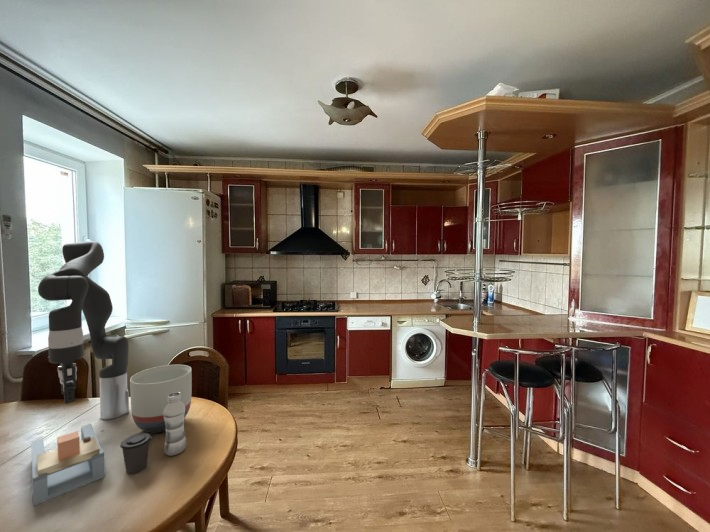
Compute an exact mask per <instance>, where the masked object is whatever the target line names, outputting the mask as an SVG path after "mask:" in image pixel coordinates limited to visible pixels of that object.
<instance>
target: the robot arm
mask: <svg viewBox="0 0 710 532" xmlns="http://www.w3.org/2000/svg"><path fill="white" fill-rule="evenodd" d="M61 250H62V251H61V252H62V257H63V259H64V264H63V265H62V266H61V267H60V268H59V270H57V271H54V272H52V273H50V274H47V275H46V276H44V277H43V278H42V279H41V281H40V282H39V284H38V286H37V292H38V295H39V297H41V298H42V299H44V300H45V301H50V302H53V301H54V302H55V301H69V300H71V303H70V304H69V305H68V306H64V307H60V308H54V309H53V310H51V311H49V313H48V335H47V336H48V337H47V341H48V343H47V345H48V347H47V348H48V362H49V363H51V364H59V366H57V373H58V379H59V383H60V384H61V385H60V386H61V395H62V396H63V398H64V399H63V402H64V404H66V405H67V404H70V403H71V404H72V403H73V402H75V400H76V390H75V389H76V388H77V380H78V379H77V378H78V377H77V371H78V366H77V364H76V363H74V361H76V360H77V361H78V360H79V359H80V360H81V359H82V358H83V357H84V356H85V351H84V350H85V349H84V346H85V345H84V332H83V322H82V321H83V320H82V313H83V315H84V319H85V322H86V324H87V329H88V333H89V337H90V343H91V348H92V353H93V355H94V357H95V358H97V359H98V360H112V364H110V365H107V366H104V367H102V368H101V369H100V370H99V373H98V376H99V411H100V412H99V414H100V415H99V416H100V419H101V420H113V419H116V418H119V417H122V416H124V415H126V414H128V413H130V396H129V395H130V394H129V392H130V390H129V389H128V365H129V348H130V347H129V340H128V338H127V337H126V336H123V335H122V336H120V335H119V336H118V335H117V336H108V335H107V333H106V324H107V323H108V321H109V318H110V317H111V315H112V313H113V303H112V300H111V296H110V294H109V292H108V291H107V290H106V289H105V288H103V287H102V286H101V285H100V284H99V283H96V282H95V281H94V280H92V278H90V277H89V275H90V274H91V272H93V271H94V270H96V269H97V268H98V267H99V266H101V265H102V264H103V262H104V259H105V253H104V249H103V246H102V245H101V243H99V242H97V241H78V242H70V243H64V244H63V245H62V249H61Z"/></svg>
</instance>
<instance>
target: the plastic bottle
mask: <svg viewBox="0 0 710 532" xmlns="http://www.w3.org/2000/svg"><path fill="white" fill-rule="evenodd" d="M180 399H181V397H180V393H179V392H176V393H172V394H169V395H168V402H169V403H168V404H167V406H166V407H165V409H164V411H163V416H164V421H165V428H166V431H165V440H164V447H163V450H164V454H165V455H167V456H170V457H171V456H172V457H173V456H177V455H179V454H181V453H183V452H184V450H185V449H186V447H187V438H186V434H185V427H184V426H185V424H184V423H185V418H184V415H185V406H184V404H183V403H182V402H181V401H180Z"/></svg>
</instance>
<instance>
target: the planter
mask: <svg viewBox="0 0 710 532" xmlns="http://www.w3.org/2000/svg"><path fill="white" fill-rule="evenodd" d="M192 376H193V375H192V367H191V366H189V365H186V364H166V365H160V366H155V367H151V368H147V369H143V370H142V371H139V372H137V373H135V374H133V375H132V376H131V377H130V379H129V392H130V394H129V395H130V396H129V398H130V408H131V409H130V410H131V415H132V420H133V422H134V424H135V425H136V427H137V428H139V429H140V430H142V431H144V432H145V433H154V434H157V433H162V432H163V433H164V432H166V428H165V421H164V416H163V411H164V409H165V407H166V406H167V404H168V403H169V402H168V395H169V394H172V393H176V392H179V393H180V397H181V399H180V401H181V402H182V403H183V404H184V406H185V415H184V419H185V418H186V416H187V415H188V413H189V411H190V408H191V403H192V387H193V383H192V380H193V377H192Z"/></svg>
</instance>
